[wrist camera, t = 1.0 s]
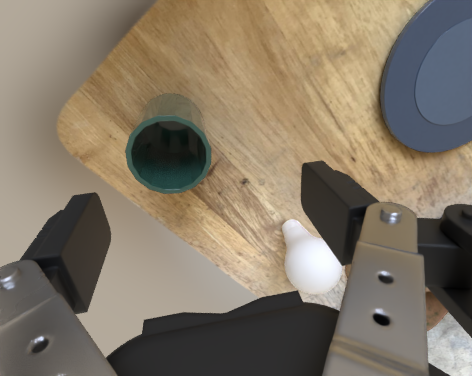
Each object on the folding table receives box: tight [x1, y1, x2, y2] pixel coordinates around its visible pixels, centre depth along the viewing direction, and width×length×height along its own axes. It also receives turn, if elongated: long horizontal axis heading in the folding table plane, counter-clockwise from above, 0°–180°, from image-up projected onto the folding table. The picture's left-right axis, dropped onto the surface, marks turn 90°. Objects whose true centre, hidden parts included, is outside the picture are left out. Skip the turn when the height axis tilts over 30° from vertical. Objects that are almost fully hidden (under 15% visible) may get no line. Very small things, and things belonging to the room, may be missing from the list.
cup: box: [125, 93, 211, 194], centre depth 26 cm, size 6×6×9 cm
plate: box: [380, 0, 472, 152], centre depth 32 cm, size 18×18×1 cm
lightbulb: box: [282, 219, 342, 295], centre depth 34 cm, size 6×6×11 cm
